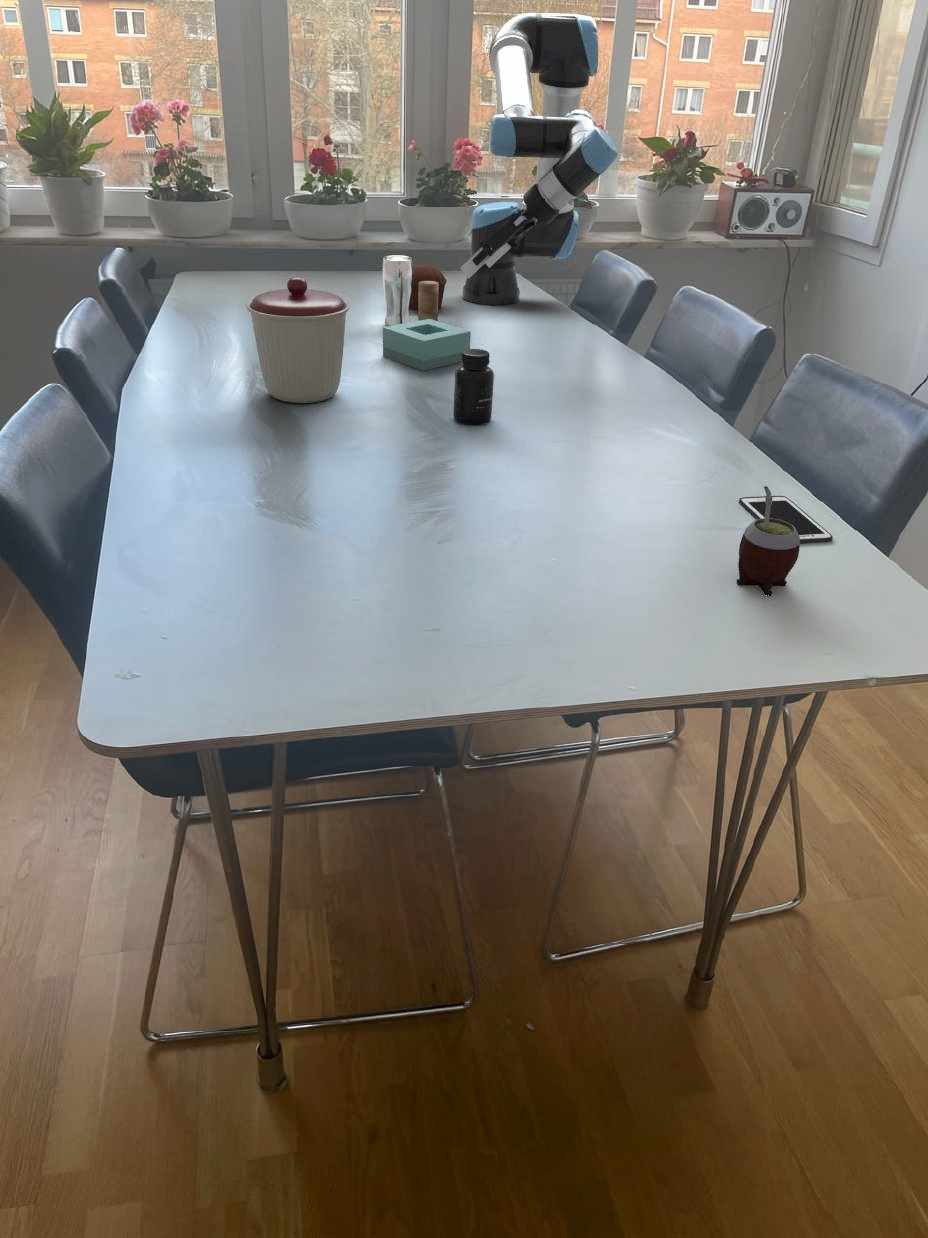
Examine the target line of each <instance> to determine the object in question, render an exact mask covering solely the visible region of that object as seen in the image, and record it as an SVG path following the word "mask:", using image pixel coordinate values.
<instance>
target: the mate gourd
mask: <svg viewBox="0 0 928 1238" xmlns="http://www.w3.org/2000/svg"><path fill="white" fill-rule="evenodd" d="M763 489H764V492H765V496H767V497H766V499H765V505H766V510H765V518H762V519H757V520H756V519H755V520H753V521H752V522H751V523H749V525H748V526H747V527H745V530H744V532H743V534H742V536H741V539H740V543H739V549H738V563H737V565H738V566H737V567H738V574H739V575H738V576H739V578H737V579H736V584H737V585H738V586H746V587H748V586H750V587H751V586H752V587H753V586H754V587H758V588H759V589H760V590H761V591H763V592H764V593H763V592H762V593H763V595H764V594H765V595H767V596H766V597H772V596H771V595H773V592H772V587H786V586H787V583H788V582H787V580H786V579H787V577H788V575H789V574H790V572H791V570H793V568H794V566H795V564H797V561H798V559H799V555H800V548H801V547H800V545H801V544H800V537H799V534H798V532H797V530H796V529H795V528H794V526H793V525H791V524H789V523H788V522H785V521H782V520H779V519H773V518H769V517H770V508H771V505H772V496H773V495H772V493H771V489H770V488H769V487H768V486H766V485H764V486H763ZM765 595H764V596H765ZM768 595H769V596H768Z"/></svg>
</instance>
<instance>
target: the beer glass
mask: <svg viewBox="0 0 928 1238" xmlns="http://www.w3.org/2000/svg"><path fill="white" fill-rule="evenodd" d="M382 260H383V261H382V276H381V277H382V286H383V287H382V288H383V293H384V294H383V295H384V301H385V307H386V309H385V311H386V312H385V319H384V325H385V326H386V325H387V326H393V325H398V324H404V323H409V322H411V318H410V309H409V303H410V297H411V291H412V284H413V269H412V267H413V258H412V257H410V256H406V255H395V254H394V255H385V256H383V258H382ZM387 326H386V327H387Z"/></svg>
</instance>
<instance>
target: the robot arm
mask: <svg viewBox="0 0 928 1238" xmlns="http://www.w3.org/2000/svg"><path fill="white" fill-rule="evenodd" d="M598 34H599V33H598V26H597V23H596V20H595V19H594V18H593V17H591V16H589V15H583V14H581V15H580V14H577V13H537V12H526V13H521V14H519V15H516V16H514V17H512V18H510V19H509V20H508V21H506V22H505V23H504V24H503V25H502V26H501V27H500V28H499V29H498V30H497V32H496V34H495V35H494V37H493V38H492V40H491V44H490V47H489V53H488V54H489V55H488V59H489V66H490V70H491V71H492V73H493V74H494V76H495V79H494V80H495V89H496V103H497V105H496V106H497V114H494V115H493V116H492V117H491V119H490V123H489V152H490V153H491V155H493V156H498V157H506V158H537V166H536V175H535V176H536V178H535V183H534V184H533V185H532V186H531V187H530V188H529V189H528V190H527V191H526V192H524V194H523V196H522V197H523V203H524V204H525V206H526V208H520V206H519V204H518V202H515V201H499V202H498V201H497V202H491V203H490V202H489V203H484V204H482V205H478V206H477V207H476V208H475V209H474V210H473V212H472V218H471V225H470V228H471V241H470V242H471V244H470V245H471V246H470V258H469V259H467V261H466V262H465V263H463V265H462V266H461V267H460V270H461V271H462V272H463V274H464V275H465V276H466V280H465V283H464V285H463V286H462V287H463V288H462V295H461V296H462V299H463V300H465V301H467V302H471V303H474V304H481V305H491V306H492V305H498V306H501V305H510V304H511V305H512V304H515V303H517V302H519V301H520V296H521V295H520V293H521V291H520V288H519V286H518V285H519V284H518V280H517V275H516V269H515V266H516V259H539V260H540V259H541V260H542V259H543V260H546V259H547V260H551V261H553V260H559V259H560V260H563V259H566V258H568V257H569V256H570V255H571V253H572V252H573V249H574V246H575V244H576V240H577V236H578V226H579V219H580V218H579V217H580V216H579V213H578V211H576V210H575V209H574V208H575V205H574V204H575V201H574V199H576V198H577V197H578V196H579V195H581V194H582V193H583V192H584V191H585V190H586V189H587V188H588V187H589V186H590V185H591V184H593V183H594V181H596V180H597V179H598V178H599V177H600V176H601V175H602V174H604V173H605V172H606V171H607V170H608V168H609V167H610V166H611V165H612V164H613V163H614V162H615V161H616V160H617V158H618V154H619V153H618V149H617V147H616V146H615V143H614V141H613V140H612V139H611V137H610V136H609V135H608V134H607V132H606V131H605V130H604V129H602V128H601V127H600V126H598V125H597V121H596V120H595V119H594V116H592V114H591V113H590V112H588V111H586V110H583V109H580V102H581V95H582V92H583V91H584V90H585V89H587V87H589V83H590V77H594V76H596V75H597V73H598V67H599V35H598ZM531 74H538V83H539V84H540V86H541V87H542V88H543V103H542V112H541V115H535V107H534V104H535V103H534V97H533V96H534V95H533V88H532V86H533V85H532V79H531Z"/></svg>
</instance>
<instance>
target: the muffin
mask: <svg viewBox="0 0 928 1238" xmlns="http://www.w3.org/2000/svg"><path fill="white" fill-rule="evenodd" d="M412 269H413V284H412V291H411V297H410V303H409V310H412V311H416V310H417V312H418V292H419V282H421V281H434V282H438V283H439V287H438V310H441V309H442V303H443V298H444V293H445V287H446V285H447V281H448V280H447V278H446V277H445V276H444V274H443V273H442V271H441V270H440V269H438V268H437V267H435V266H434V265H430V264H423V263H421V264H415V265H414V266H413V265H412Z"/></svg>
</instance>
